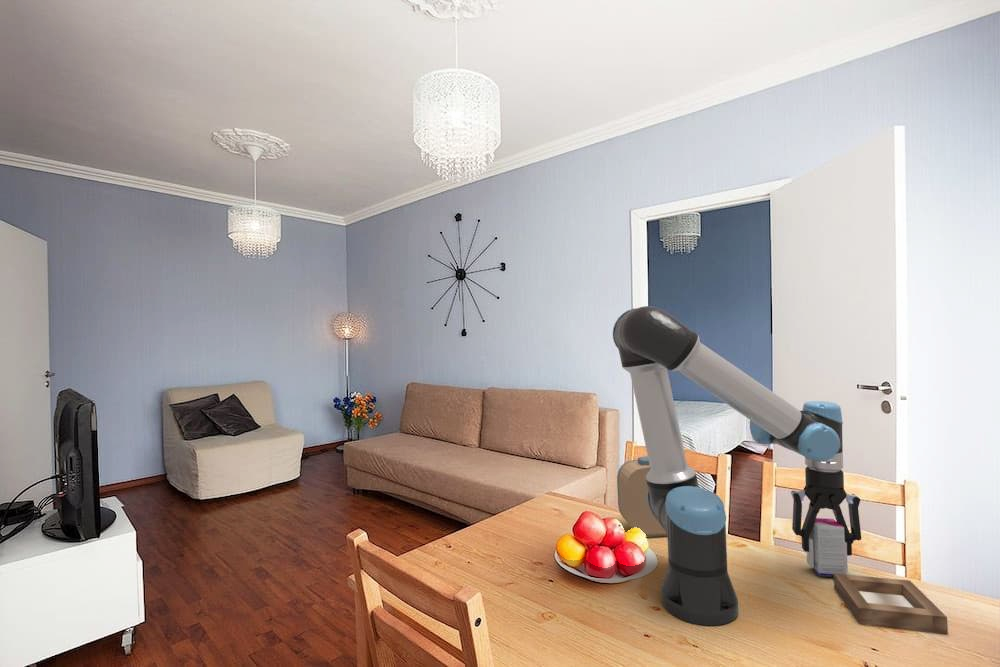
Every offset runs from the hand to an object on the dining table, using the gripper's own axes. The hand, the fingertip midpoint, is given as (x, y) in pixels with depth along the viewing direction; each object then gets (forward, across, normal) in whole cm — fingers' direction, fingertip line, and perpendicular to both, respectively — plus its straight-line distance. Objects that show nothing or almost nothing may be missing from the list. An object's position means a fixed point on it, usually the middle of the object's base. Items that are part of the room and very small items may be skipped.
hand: (826, 566), depth 115 cm
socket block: (+2, +6, -14) cm, 15 cm away
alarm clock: (+2, -38, +18) cm, 42 cm away
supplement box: (+1, 0, 0) cm, 1 cm away
